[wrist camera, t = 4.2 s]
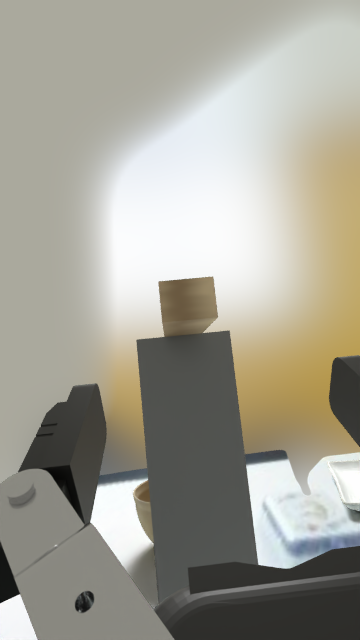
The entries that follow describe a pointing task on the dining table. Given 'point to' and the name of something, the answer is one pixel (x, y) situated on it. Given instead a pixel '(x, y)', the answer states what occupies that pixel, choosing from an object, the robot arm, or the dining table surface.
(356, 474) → the square plate
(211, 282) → the block
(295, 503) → the dining table surface
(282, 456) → the dining table surface
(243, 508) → the stand
